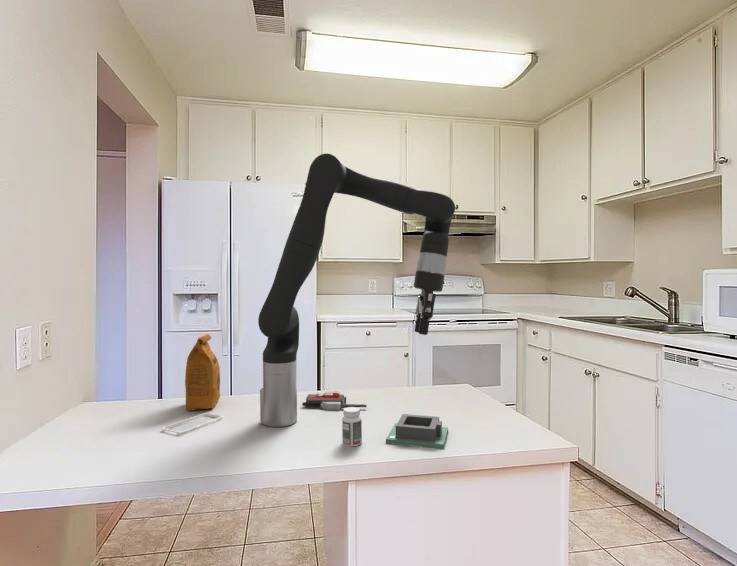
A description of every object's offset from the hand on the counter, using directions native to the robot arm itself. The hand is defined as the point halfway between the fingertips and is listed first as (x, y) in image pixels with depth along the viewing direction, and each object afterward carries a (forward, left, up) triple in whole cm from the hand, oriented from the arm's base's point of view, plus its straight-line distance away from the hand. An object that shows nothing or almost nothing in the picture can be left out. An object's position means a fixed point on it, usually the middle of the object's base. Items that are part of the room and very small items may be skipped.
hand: (420, 333), depth 117 cm
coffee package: (-69, +6, -26) cm, 74 cm away
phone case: (-61, -10, -27) cm, 67 cm away
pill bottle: (-15, -12, -26) cm, 32 cm away
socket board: (0, -4, -26) cm, 26 cm away
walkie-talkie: (-29, +16, -26) cm, 43 cm away
